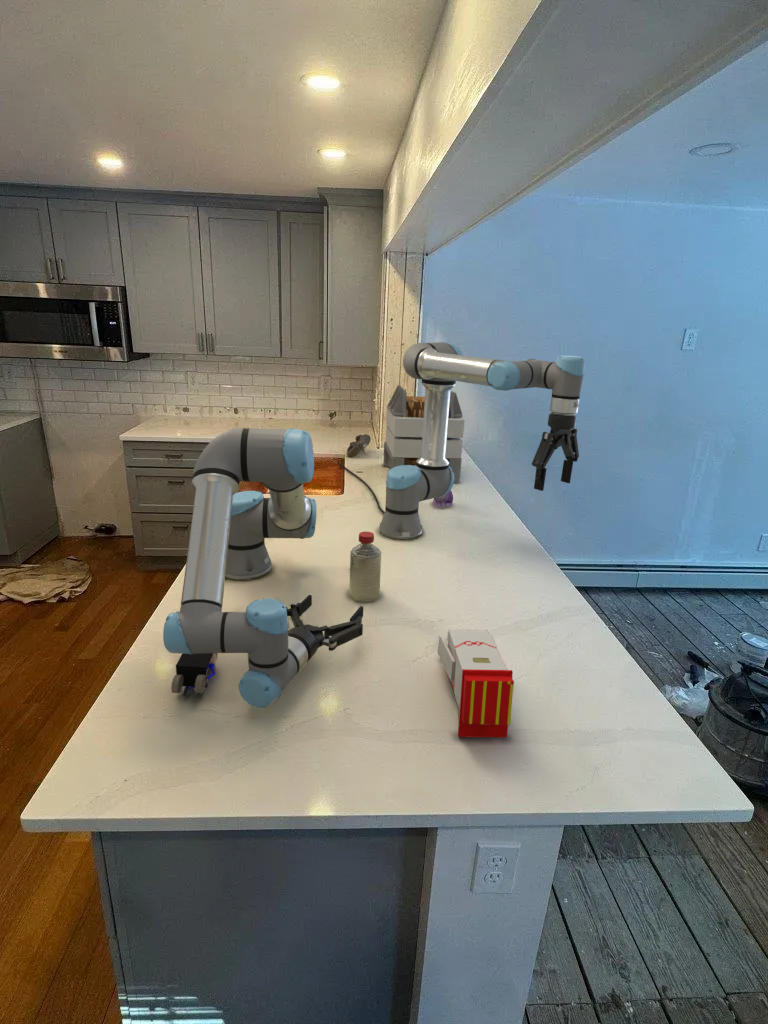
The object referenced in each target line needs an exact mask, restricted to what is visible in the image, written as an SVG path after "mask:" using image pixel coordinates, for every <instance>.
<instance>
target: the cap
mask: <svg viewBox="0 0 768 1024" xmlns="http://www.w3.org/2000/svg"><path fill="white" fill-rule="evenodd" d="M374 541H375V533H374V532H372V531H361V532H359V533H358V542H359V543H364V544H370V543H371V544H373V543H374Z"/></svg>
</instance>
